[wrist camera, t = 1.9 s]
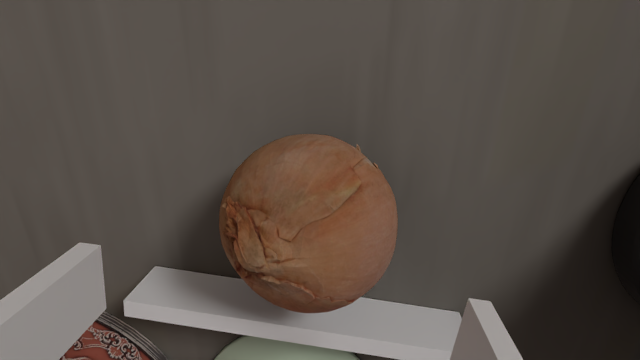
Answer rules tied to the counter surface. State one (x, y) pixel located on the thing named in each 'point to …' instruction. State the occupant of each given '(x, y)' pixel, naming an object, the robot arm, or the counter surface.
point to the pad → (278, 351)
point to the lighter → (112, 342)
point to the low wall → (293, 317)
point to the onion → (309, 223)
